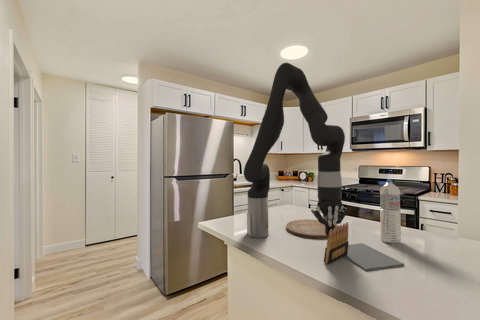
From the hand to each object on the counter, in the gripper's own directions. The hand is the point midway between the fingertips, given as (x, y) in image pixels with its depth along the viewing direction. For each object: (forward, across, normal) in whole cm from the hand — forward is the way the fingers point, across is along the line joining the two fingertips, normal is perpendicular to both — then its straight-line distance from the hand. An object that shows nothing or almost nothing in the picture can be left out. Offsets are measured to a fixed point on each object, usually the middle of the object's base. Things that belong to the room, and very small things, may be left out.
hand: (330, 236), depth 76 cm
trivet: (+9, +11, +31) cm, 34 cm away
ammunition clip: (+8, +2, 0) cm, 8 cm away
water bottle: (+8, +33, +10) cm, 35 cm away
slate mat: (+8, +13, 0) cm, 15 cm away
